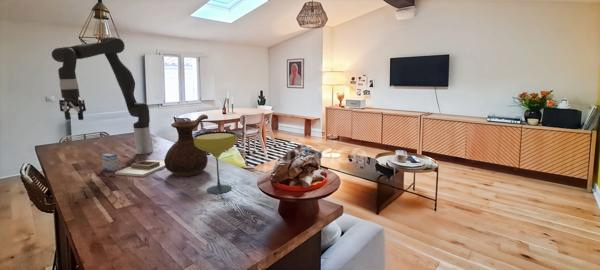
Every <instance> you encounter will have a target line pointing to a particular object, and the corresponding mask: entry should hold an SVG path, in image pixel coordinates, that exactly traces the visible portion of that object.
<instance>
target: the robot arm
mask: <svg viewBox="0 0 600 270" xmlns="http://www.w3.org/2000/svg"><path fill="white" fill-rule="evenodd" d="M125 47H126V46H125V43H124V41H123V39H121V38H120V37H117V36H110V37H109V36H108V37H103V38H102V39H101V40H100V41H99V42H90V43H81V44H77V45H73V46H72V45H71V46H64V47H57V48H54V49H53V50H52V52H51V57H52V59H53V60H54V61H55V62H58V63H62V66H61V67H59V68H58V70H57V72H58V78H59V79H58V80H59V88H60V93H61V98H62V99H59V100H58V104H59V110H60V112H62V113H63V114H64V118H65V120H66V121H69V120H71V119H72V118H71V113H70V111H71V109H73V110H75V111H76V112H77V119H78V121H83V120H84V112H86V111H87V109H86V103H85V99H79V97H81V96H80V89H79V84H78V81H77V73H76V69H77V68H76V67H77V60H82V59H88V58H92V57H95V56H100V55H103V54H104V56H105V58H106V60H107V61H108V63H109V66H110V67H111V70H112V72H113V74H114V77H115V80H116V81H117V84H118V86H119V88H120V91H121V93H122V96H123V98H124V102H125V105H126V108H127V111H128V113H129V115H130V116H131V117H133V118H134V117H135V118H138V119H137V121H136V122H134V123H133V125H132V126H133V127H132V128H133V133H134V140H135V141H134V142H135V151H136V154H137V155H148V154H150V153H152V152H153V151H154V147H153V139H152V137H151V131H150V108H149V106H148V104H147V103H145V102H137V99H136V98H135V89H136V81H135V79H134V76H133V73H132V71H131V70H130V69H129V67H127V66H126V65H125V64H124V63H123V62H122V61H121V60H120V58H119V55H118V54H121V53H123V51H124V50H125Z"/></svg>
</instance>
